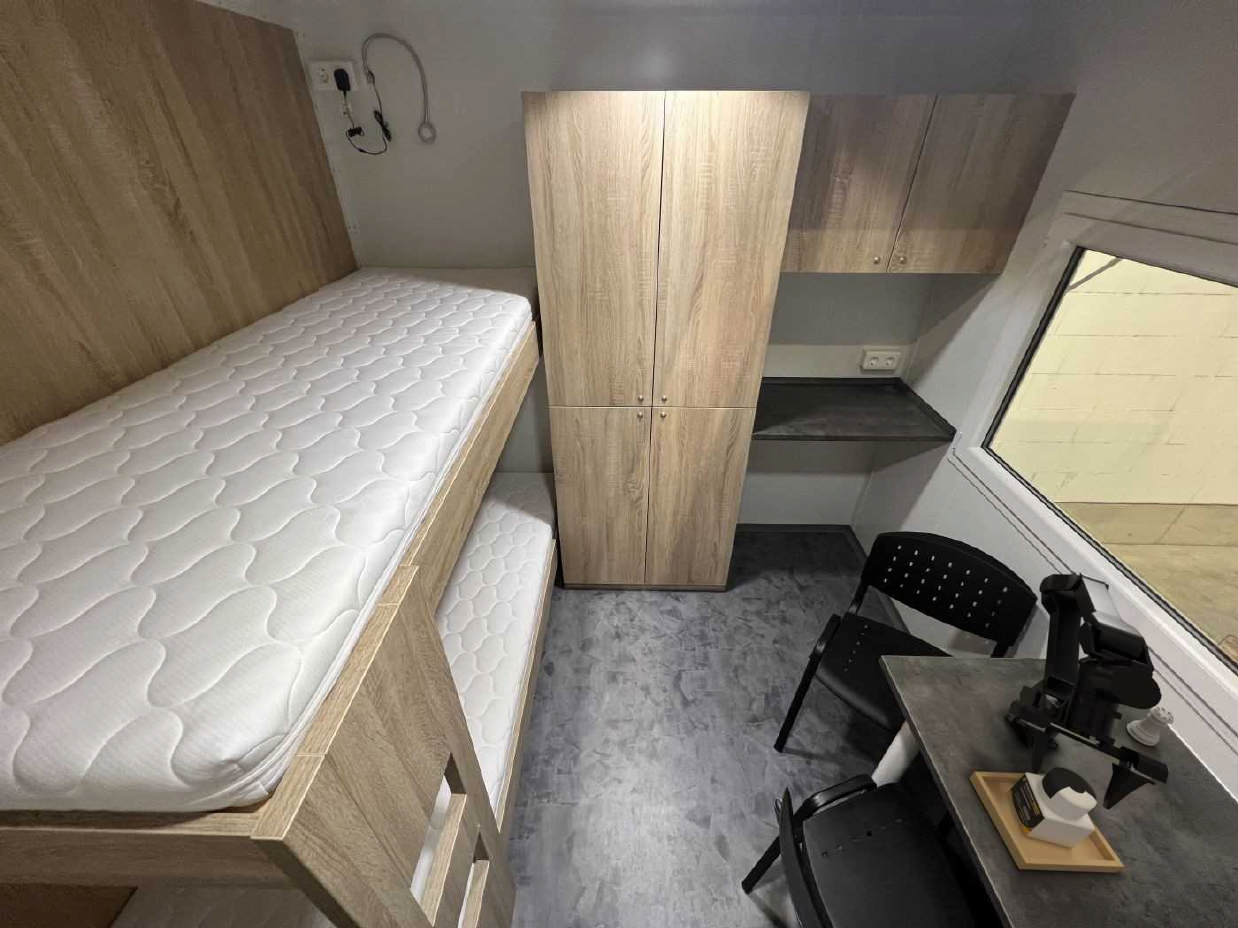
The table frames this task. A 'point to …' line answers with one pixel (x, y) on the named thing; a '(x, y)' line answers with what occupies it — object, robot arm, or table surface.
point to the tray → (1036, 852)
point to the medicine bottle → (1054, 806)
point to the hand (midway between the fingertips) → (1069, 790)
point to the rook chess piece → (1150, 726)
